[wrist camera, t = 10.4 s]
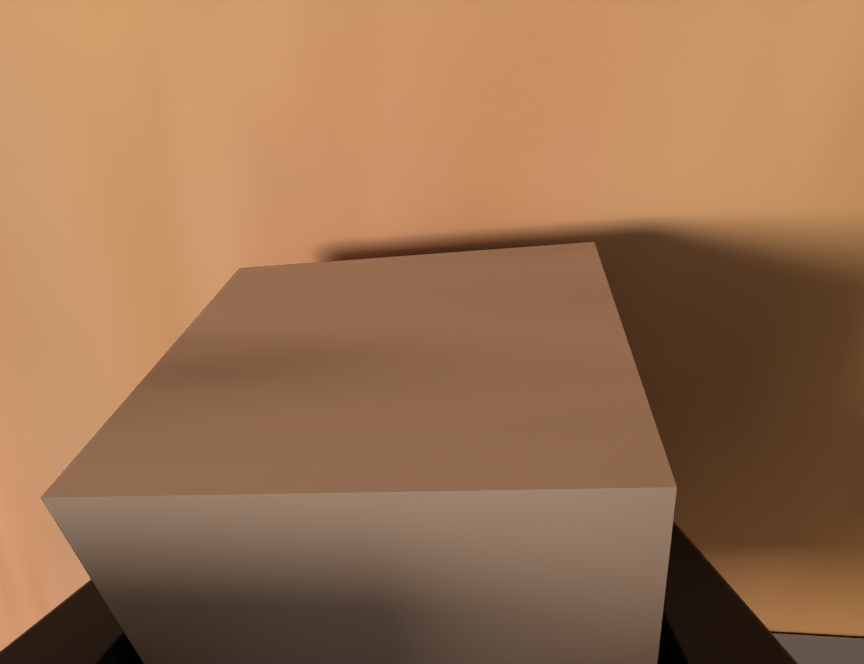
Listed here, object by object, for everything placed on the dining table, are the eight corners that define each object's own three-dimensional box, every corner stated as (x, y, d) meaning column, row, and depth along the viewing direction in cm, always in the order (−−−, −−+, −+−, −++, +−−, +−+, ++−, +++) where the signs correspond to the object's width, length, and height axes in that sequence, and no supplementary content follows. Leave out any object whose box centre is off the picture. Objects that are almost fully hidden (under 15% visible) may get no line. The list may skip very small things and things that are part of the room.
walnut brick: (589, 571, 10) (633, 873, 7) (333, 570, 11) (257, 845, 8) (594, 241, 7) (677, 487, 4) (240, 268, 8) (39, 498, 4)
